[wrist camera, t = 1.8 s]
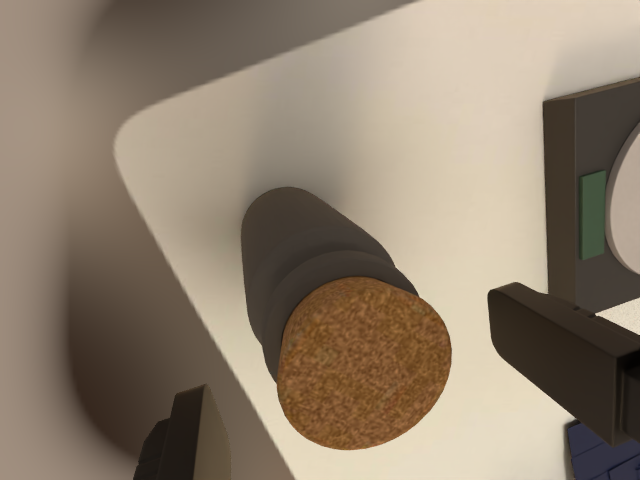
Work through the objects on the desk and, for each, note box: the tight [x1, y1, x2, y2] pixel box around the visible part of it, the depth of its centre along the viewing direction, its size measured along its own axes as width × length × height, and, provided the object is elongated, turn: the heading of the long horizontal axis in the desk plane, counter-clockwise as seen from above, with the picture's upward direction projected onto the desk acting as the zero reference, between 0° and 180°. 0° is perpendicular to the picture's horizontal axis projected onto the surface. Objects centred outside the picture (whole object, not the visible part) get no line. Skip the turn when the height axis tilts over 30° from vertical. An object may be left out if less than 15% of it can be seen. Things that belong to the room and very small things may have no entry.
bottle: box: [241, 187, 452, 450], centre depth 16 cm, size 6×6×15 cm
